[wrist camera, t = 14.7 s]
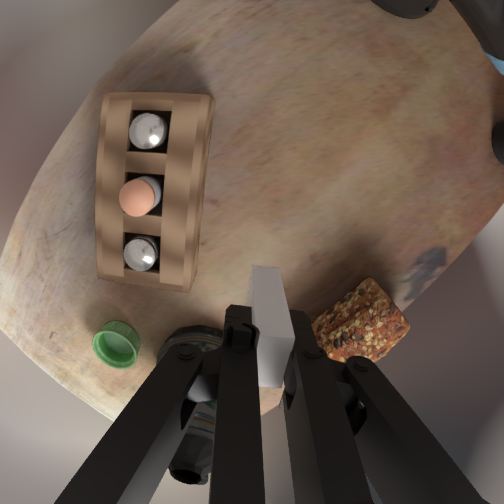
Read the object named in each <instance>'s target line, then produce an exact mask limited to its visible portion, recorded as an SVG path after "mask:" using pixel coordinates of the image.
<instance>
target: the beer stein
mask: <svg viewBox="0 0 504 504" xmlns="http://www.w3.org/2000/svg"><path fill="white" fill-rule="evenodd" d="M222 341H223V331H221V330H220V329H216V328H211V327H206V326H201V325H197V326H190V327H182V328H179V329H178V330H177V331H175V332H174V333H173V334H172V335H171V336H170V337H169V338H168V339H167V340H166V341H165V343H164V345H163V346H162V347H161V348H160V350H159V352H158V355H157V361H156V364H158V363H159V361H160V360H161V359H162V357H163V356H164V355H165V353H166V352H167V351H168V349H169V348H170V347H172V346H173V345H175V344H178V343H191V344H194V345H196V346H198V347H199V348H200V349H201V350H202V352H205V351H211V350H214V349H217V348H218V347H220V345H221V344H222ZM216 402H217V400H210V401H202V402H200V405H199V407H198V409H197V411H196V413H195V415H194V417H193V419H192V421H191V423H190V425H189V427H188V429H187V431H186V433H185V435H184V437H183V439H182V441H181V443H180V445H179V447H178V449H177V451H176V452H175V454H174V456H173V458H172V460H171V462H170V464H169V466H168V468H169V470H170V474H171V476H172V477H173V478H174V479H176V480H178V481H180V482H182V483H186V484H190V485H191V484H198V485H204V484H206V483H207V481H208V474H209V473H210V472H211V463H212V450H213V437H214V425H215V413H216Z"/></svg>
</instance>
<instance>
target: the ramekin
mask: <svg viewBox="0 0 504 504" xmlns="http://www.w3.org/2000/svg"><path fill="white" fill-rule="evenodd" d="M92 347H93V350H94V352H95V354H96V355H97V357H98V358H99V359H100V360H101V361H102V362H103V363H105V364H106V365H108V366H110V367H112V368H115V369H129V368H131V367H132V366H134V365H135V363H136V361H137V354H138V351H139V348H140V339H139V337H138V335H137V333H136V332H135V331H134V330H133V329H132V328H131V327H130V326H129V325H127V324H125V323H123V322H119V321H111V322H108V323H107V324H105V325H104V326H103V327H102V329H101V330H100V331H99V332H97V333H96V334H95V335H94V337H93V340H92Z"/></svg>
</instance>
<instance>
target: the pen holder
mask: <svg viewBox="0 0 504 504" xmlns="http://www.w3.org/2000/svg"><path fill="white" fill-rule="evenodd" d="M492 146H493V150H494V153H495V156H496V157H497V159H498V160H499V161H500V162H501V163H502V164H504V121H502V122H499V123H498V124H497V125H496V126H495V128H494V131H493V134H492Z"/></svg>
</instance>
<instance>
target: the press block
mask: <svg viewBox="0 0 504 504" xmlns="http://www.w3.org/2000/svg"><path fill="white" fill-rule="evenodd" d="M214 109H215V101H214V99H213V98H212V97H211V96H210V95H204V94H189V93H168V92H113V93H103V100H102V108H101V116H100V125H99V136H98V148H97V163H96V187H95V234H96V258H97V273H98V279H102V280H107V281H113V282H119V283H125V284H132V285H138V286H144V287H151V288H157V289H164V290H171V291H178V292H185V293H190V290H191V287H192V284H193V282H194V279H195V276H196V273H197V263H198V250H199V238H200V227H201V217H202V207H203V197H204V188H205V179H206V170H207V161H208V153H209V145H210V138H211V130H212V123H213V116H214ZM145 113H150V114H155V115H159V116H163V117H166V118H169V119H170V120H171V123H170V131H169V139H168V145H166V146H164V147H158V148H149V149H141V148H138V147H136V146H135V145H134V144H133V143H132V141H131V139H130V136H129V129H130V125H131V123H132V122H133V120H134V119H135V118H136V117H138V116H139V115H141V114H145ZM146 174H157V175H159V176H160V177H161V178H162V179H163V180H164V192H163V200H162V201H161V202H160V203H159V204H157V205H156V206H155V207H154V208H152V209H151V210H150V211H149V212H147V213H146V214H144V215H142V216H138V217H135V216H131V215H129V214H127V213H126V212H125V211H124V210H123V209H122V207H121V205H120V202H119V194H120V190H121V188H122V187H123V186H124V185H125V184H126V183H127V182H129V181H132V180H134V179H136V178H139V177H141V176H144V175H146ZM137 234H146V235H154V236H161V246H160V255H159V256H158V258H157V259H156V261H155V262H154V264H153V265H152V267H151V268H149V269H148V270H146V271H136V270H134V269H132V268H131V267H130V266H129V265H128V264H127V263H126V261H125V258H124V249H125V247H126V245H127V244H128V243H129V242H130V241H131V240H132V239H133V238H134V237H135V236H136V235H137Z"/></svg>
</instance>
